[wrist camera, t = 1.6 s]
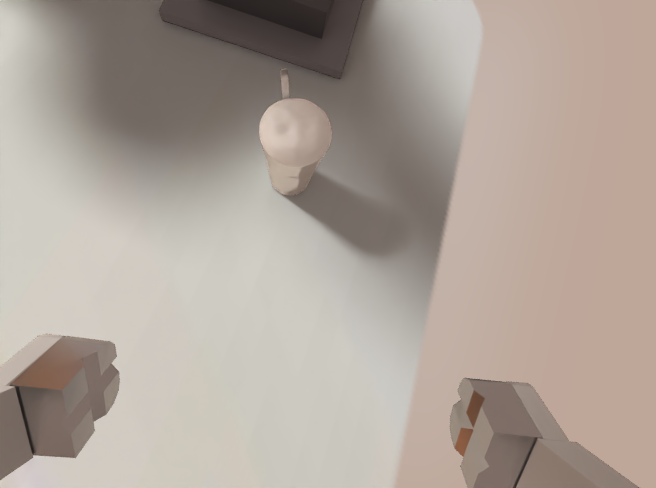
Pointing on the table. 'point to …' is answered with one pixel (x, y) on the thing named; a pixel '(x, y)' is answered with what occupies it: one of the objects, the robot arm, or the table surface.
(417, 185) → the table surface
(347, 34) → the square planter tray
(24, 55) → the table surface
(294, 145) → the milkshake
